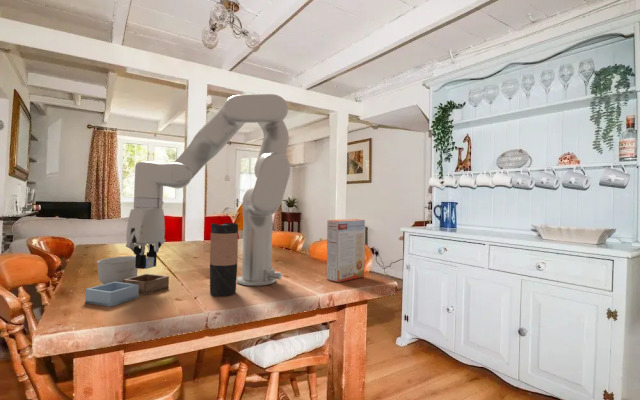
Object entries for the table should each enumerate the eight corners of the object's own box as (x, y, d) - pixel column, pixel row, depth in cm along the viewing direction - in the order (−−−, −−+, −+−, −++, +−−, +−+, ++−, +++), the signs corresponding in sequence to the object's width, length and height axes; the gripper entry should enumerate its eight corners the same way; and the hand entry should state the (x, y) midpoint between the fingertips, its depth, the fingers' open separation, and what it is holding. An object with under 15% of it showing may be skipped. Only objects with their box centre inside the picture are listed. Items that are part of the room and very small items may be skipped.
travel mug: (229, 297, 94) (231, 225, 94) (203, 295, 95) (205, 224, 95) (240, 290, 101) (242, 223, 101) (217, 288, 103) (218, 222, 102)
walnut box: (168, 287, 102) (168, 276, 102) (146, 295, 94) (146, 282, 94) (146, 285, 105) (146, 273, 105) (122, 291, 97) (123, 279, 97)
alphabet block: (146, 269, 97) (146, 258, 97) (137, 268, 98) (137, 257, 98) (154, 267, 100) (154, 257, 100) (145, 266, 101) (145, 256, 101)
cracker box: (352, 274, 127) (353, 218, 127) (364, 277, 123) (366, 219, 123) (325, 279, 118) (326, 219, 118) (337, 283, 114) (339, 220, 114)
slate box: (138, 297, 92) (138, 284, 92) (110, 306, 84) (110, 292, 84) (114, 294, 94) (115, 281, 94) (85, 302, 86) (85, 288, 86)
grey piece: (118, 290, 98) (119, 262, 98) (87, 287, 101) (87, 260, 101) (151, 279, 112) (152, 255, 112) (123, 277, 114) (123, 253, 114)
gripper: (159, 203, 108) (157, 261, 108) (113, 203, 93) (110, 271, 93) (178, 204, 106) (176, 263, 106) (134, 204, 90) (132, 274, 90)
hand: (145, 266), depth 99 cm, fingers closed on alphabet block, 3 cm apart
